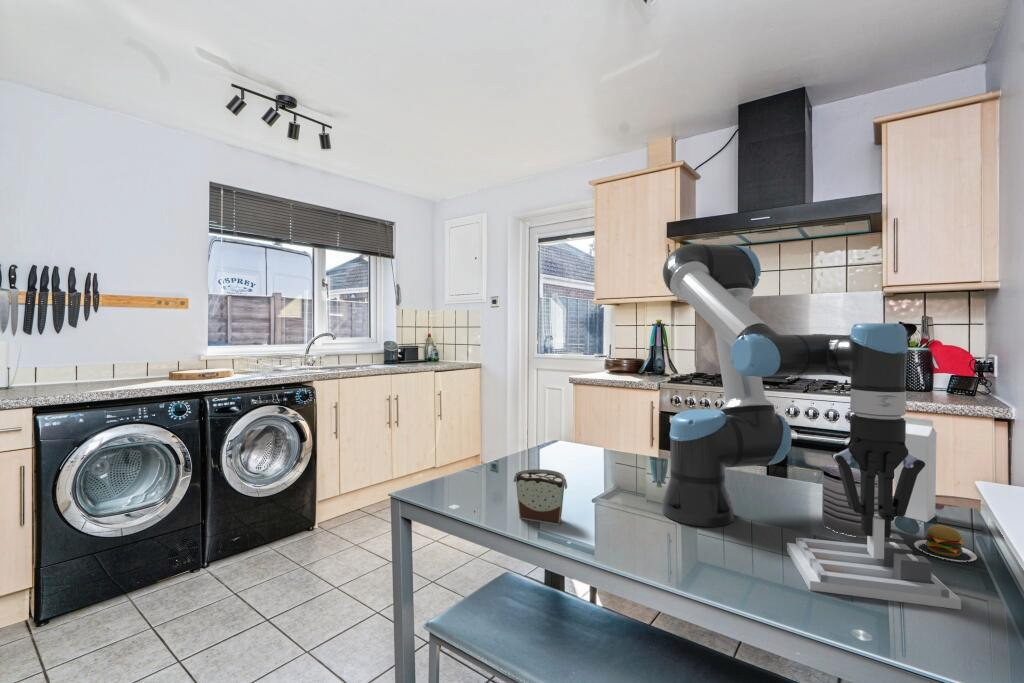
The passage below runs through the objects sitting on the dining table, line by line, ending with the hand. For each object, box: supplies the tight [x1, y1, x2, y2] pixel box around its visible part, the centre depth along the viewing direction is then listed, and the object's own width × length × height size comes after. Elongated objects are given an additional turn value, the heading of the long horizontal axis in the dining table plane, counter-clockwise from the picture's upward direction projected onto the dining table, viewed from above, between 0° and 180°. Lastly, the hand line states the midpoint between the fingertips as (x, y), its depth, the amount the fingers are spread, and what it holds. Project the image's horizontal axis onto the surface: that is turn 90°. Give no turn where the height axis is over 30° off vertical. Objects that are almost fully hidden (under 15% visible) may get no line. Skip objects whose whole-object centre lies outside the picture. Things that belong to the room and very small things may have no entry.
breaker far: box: [884, 533, 905, 544], centre depth 87 cm, size 4×2×4 cm, turn 74°
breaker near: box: [893, 553, 932, 584], centre depth 79 cm, size 4×2×4 cm, turn 74°
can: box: [820, 464, 879, 537], centre depth 105 cm, size 11×11×12 cm
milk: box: [894, 416, 937, 523], centre depth 112 cm, size 6×6×22 cm
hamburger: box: [913, 524, 978, 563], centre depth 94 cm, size 12×12×6 cm
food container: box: [513, 468, 568, 526], centre depth 112 cm, size 12×6×10 cm, turn 65°
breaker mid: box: [877, 542, 913, 568], centre depth 83 cm, size 4×2×4 cm, turn 74°
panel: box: [786, 537, 962, 610], centre depth 84 cm, size 20×15×3 cm
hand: (875, 554), depth 84 cm, fingers closed
